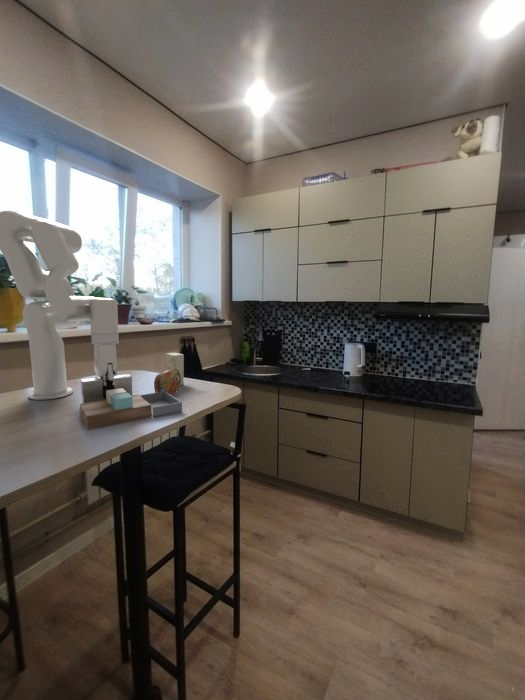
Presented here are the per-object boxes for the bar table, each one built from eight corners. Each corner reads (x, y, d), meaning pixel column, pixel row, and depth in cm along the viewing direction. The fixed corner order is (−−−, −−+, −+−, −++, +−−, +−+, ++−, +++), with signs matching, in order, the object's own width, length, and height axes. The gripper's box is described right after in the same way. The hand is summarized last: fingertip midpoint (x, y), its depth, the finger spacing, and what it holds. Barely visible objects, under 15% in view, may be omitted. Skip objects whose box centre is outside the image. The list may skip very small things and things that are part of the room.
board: (80, 415, 92) (79, 403, 91) (138, 405, 101) (138, 394, 101) (88, 429, 82) (87, 416, 82) (151, 416, 92) (151, 405, 91)
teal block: (111, 405, 90) (110, 395, 89) (128, 403, 92) (127, 392, 92) (115, 410, 86) (114, 399, 86) (132, 407, 89) (132, 396, 88)
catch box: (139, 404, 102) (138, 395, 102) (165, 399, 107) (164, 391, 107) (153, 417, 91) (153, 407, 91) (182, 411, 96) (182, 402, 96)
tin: (161, 401, 106) (160, 375, 105) (152, 400, 107) (151, 375, 106) (181, 388, 121) (181, 366, 119) (174, 388, 121) (173, 366, 120)
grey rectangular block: (82, 404, 100) (80, 379, 99) (129, 397, 108) (128, 374, 107) (83, 407, 97) (82, 381, 96) (132, 400, 105) (131, 376, 104)
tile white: (106, 400, 94) (106, 390, 94) (122, 397, 97) (122, 388, 97) (110, 404, 91) (109, 394, 90) (126, 401, 94) (126, 391, 93)
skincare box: (165, 383, 127) (164, 353, 125) (175, 381, 130) (175, 352, 128) (174, 387, 123) (173, 355, 121) (184, 384, 126) (184, 354, 124)
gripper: (86, 336, 104) (89, 391, 107) (97, 343, 91) (99, 405, 94) (112, 335, 108) (114, 388, 111) (125, 341, 95) (127, 401, 98)
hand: (107, 395), depth 102 cm, fingers closed on grey rectangular block, 3 cm apart
